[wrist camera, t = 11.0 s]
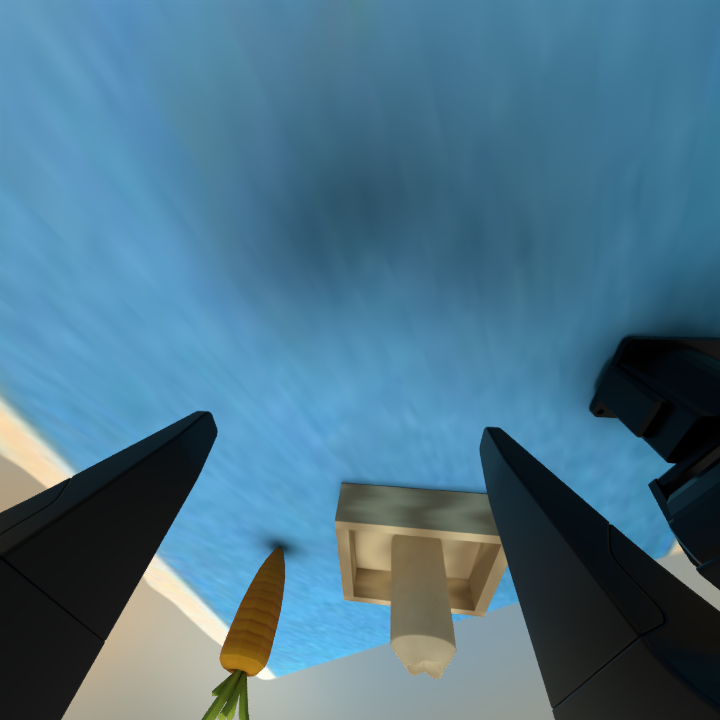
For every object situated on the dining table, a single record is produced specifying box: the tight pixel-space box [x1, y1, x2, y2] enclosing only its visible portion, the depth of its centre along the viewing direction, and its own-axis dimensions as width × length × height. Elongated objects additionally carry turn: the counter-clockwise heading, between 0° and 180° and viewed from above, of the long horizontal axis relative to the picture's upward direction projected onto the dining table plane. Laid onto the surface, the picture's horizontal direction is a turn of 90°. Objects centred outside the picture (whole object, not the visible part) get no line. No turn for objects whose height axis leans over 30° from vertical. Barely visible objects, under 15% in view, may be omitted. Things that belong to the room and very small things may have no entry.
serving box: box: [335, 483, 508, 617], centre depth 31 cm, size 16×16×4 cm
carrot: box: [202, 547, 285, 720], centre depth 31 cm, size 5×5×15 cm
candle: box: [390, 534, 456, 679], centre depth 27 cm, size 6×6×10 cm
